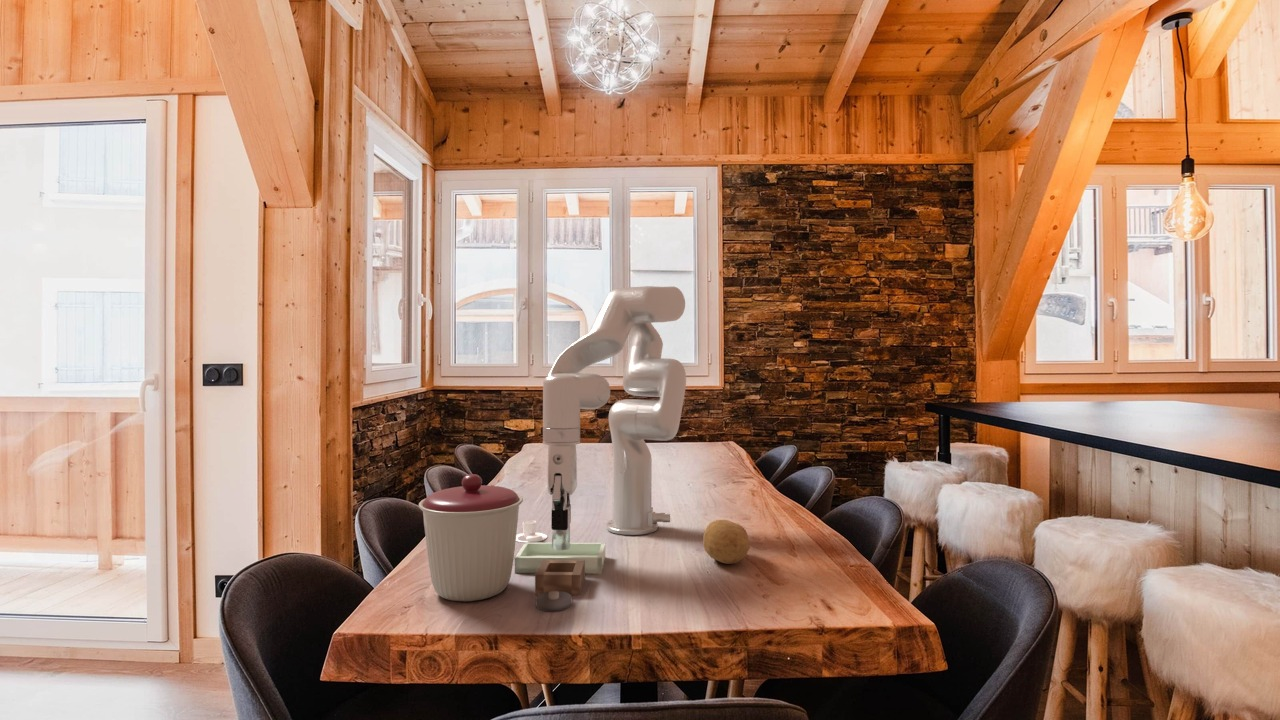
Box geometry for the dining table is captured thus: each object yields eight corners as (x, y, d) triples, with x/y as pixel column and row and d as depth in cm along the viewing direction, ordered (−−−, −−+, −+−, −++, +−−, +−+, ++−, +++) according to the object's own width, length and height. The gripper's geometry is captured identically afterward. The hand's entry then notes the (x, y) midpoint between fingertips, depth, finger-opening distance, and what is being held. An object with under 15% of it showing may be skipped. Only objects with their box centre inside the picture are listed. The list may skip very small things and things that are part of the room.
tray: (605, 557, 134) (605, 542, 134) (601, 573, 124) (601, 558, 124) (524, 556, 134) (524, 542, 134) (514, 572, 124) (514, 557, 124)
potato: (739, 549, 139) (739, 513, 139) (758, 571, 125) (758, 531, 125) (695, 551, 138) (695, 514, 138) (710, 573, 124) (710, 532, 124)
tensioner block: (584, 578, 121) (584, 560, 121) (575, 611, 105) (575, 590, 105) (542, 578, 121) (542, 560, 121) (526, 611, 105) (526, 590, 105)
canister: (444, 572, 124) (444, 464, 124) (534, 575, 122) (534, 466, 122) (399, 609, 106) (399, 483, 106) (504, 614, 104) (504, 486, 104)
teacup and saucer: (543, 545, 143) (543, 527, 143) (508, 545, 143) (508, 527, 143) (549, 534, 152) (549, 517, 152) (516, 534, 152) (516, 517, 152)
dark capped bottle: (570, 545, 130) (571, 501, 130) (568, 550, 127) (568, 505, 127) (553, 545, 130) (553, 501, 130) (550, 550, 127) (550, 505, 127)
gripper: (575, 441, 120) (574, 538, 120) (584, 431, 137) (583, 516, 137) (535, 441, 120) (535, 538, 120) (549, 431, 137) (549, 516, 137)
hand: (561, 525), depth 129 cm, fingers closed on dark capped bottle, 3 cm apart
